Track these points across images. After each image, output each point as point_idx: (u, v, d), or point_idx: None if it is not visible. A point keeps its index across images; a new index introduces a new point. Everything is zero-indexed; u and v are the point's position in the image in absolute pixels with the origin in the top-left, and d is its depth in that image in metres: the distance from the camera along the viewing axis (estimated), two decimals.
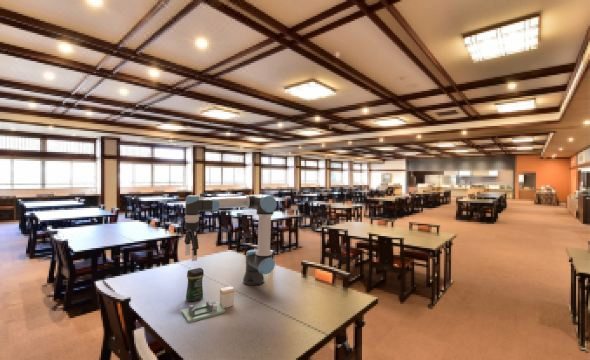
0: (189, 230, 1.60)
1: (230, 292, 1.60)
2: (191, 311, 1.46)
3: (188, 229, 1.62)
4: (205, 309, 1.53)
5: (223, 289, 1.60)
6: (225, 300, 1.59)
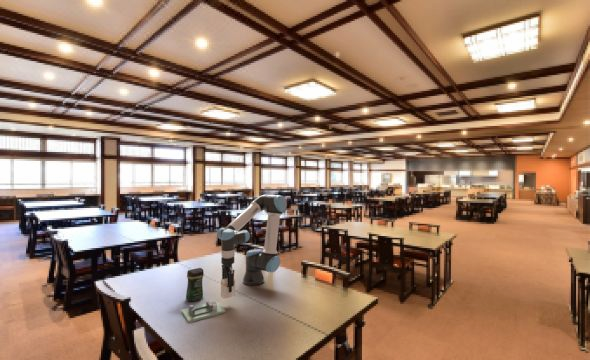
0: (225, 265, 1.61)
1: None
2: (191, 311, 1.46)
3: None
4: (205, 309, 1.53)
5: (224, 280, 1.60)
6: (226, 290, 1.59)
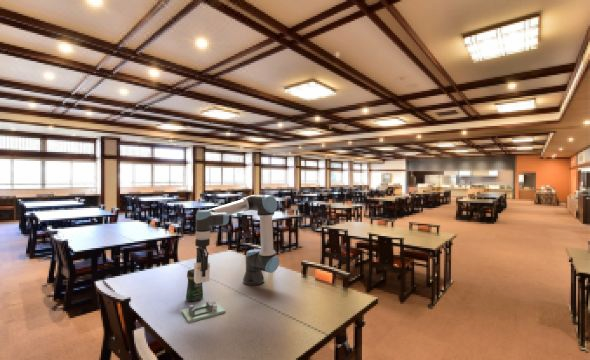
0: (200, 247, 1.50)
1: None
2: (191, 311, 1.46)
3: None
4: (205, 309, 1.53)
5: (197, 263, 1.49)
6: (199, 275, 1.48)
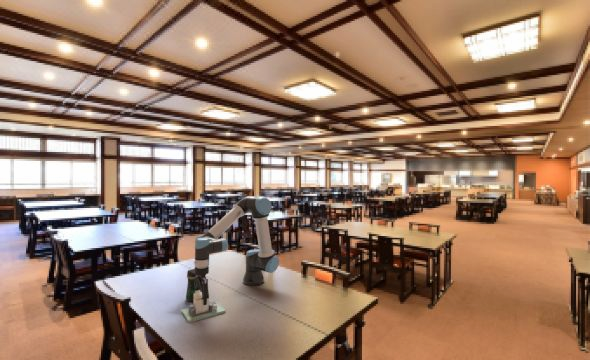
0: (199, 275, 1.50)
1: None
2: (191, 311, 1.46)
3: None
4: None
5: (197, 294, 1.49)
6: (198, 306, 1.47)
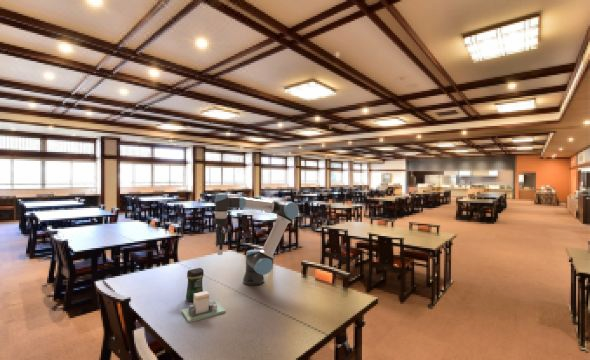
0: (218, 225, 1.74)
1: (204, 298, 1.49)
2: (191, 311, 1.46)
3: (217, 224, 1.76)
4: None
5: (197, 294, 1.49)
6: (198, 306, 1.47)
